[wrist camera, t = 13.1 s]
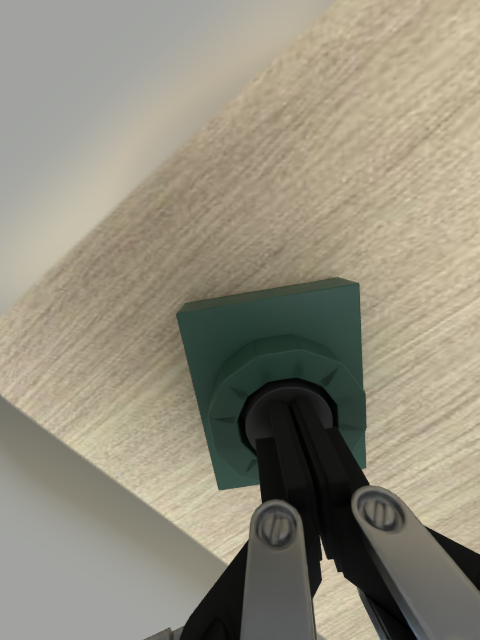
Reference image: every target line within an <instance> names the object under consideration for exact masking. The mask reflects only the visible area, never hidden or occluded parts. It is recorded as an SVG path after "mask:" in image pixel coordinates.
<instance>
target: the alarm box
mask: <svg viewBox="0 0 480 640" xmlns="http://www.w3.org/2000/svg"><path fill="white" fill-rule="evenodd" d="M176 316H177V320H178V324H179V328H180V332H181V336H182V340H183V345H184V349H185V353H186V357H187V361H188V365H189V369H190V374H191V378H192V382H193V386H194V390H195V394H196V398H197V403H198V407H199V411H200V415H201V419H202V423H203V427H204V432H205V436H206V440H207V444H208V448H209V452H210V456H211V461H212V465H213V469H214V473H215V477H216V481H217V485H218V489H219V490H225V489H232V488H239V487H245V486H252V485H259V484H260V481H259V471H258V462H257V453H256V450H255V449H254V447H253V446H252V445H251V443H250V442H249V440H248V438H247V434H246V429H245V414H244V404H245V401H246V399H247V397H248V396H249V395H251V394H252V393H253V392H255V391H256V390H258V389H259V388H260V387H262V386H263V385H264V384H266V383H267V382H270V381H277V380H283V379H289V378H295V377H297V378H300V379H303V380H306V381H309V382H312V383H315V384H316V385H317V387H318V389H319V390H320V392H321V394H322V395H323V397H324V399H325V400H326V402H327V404H328V406H329V408H330V410H331V413H332V418H333V424H332V427H336V428H338V430H339V431H340V433H341V435H342V437H343V438H344V440H345V442H346V444H347V445H348V447H349V449H350V451H351V452H352V454H353V456H354V458H355V459H356V461H357V463H358V465H359V466H360V468H361V469H365V468H366V449H365V431H366V428H367V426H366V398H365V391H364V390H363V369H362V342H361V316H360V289H359V283H356V282H352V281H349V280H346V279H342V278H333V279H327V280H321V281H315V282H309V283H303V284H297V285H291V286H285V287H279V288H273V289H267V290H261V291H255V292H249V293H243V294H237V295H231V296H225V297H220V298H214V299H208V300H202V301H196V302H190V303H185V304H184V306H183V307H182V308H181V309H180V310H179V311H178V313H177V314H176Z"/></svg>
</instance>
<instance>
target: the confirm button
mask: <svg viewBox="0 0 480 640" xmlns="http://www.w3.org/2000/svg"><path fill="white" fill-rule="evenodd" d="M301 397H309V398H310V401H311V403H312V405H313V407H314V409H315V411H316V413H317V415H318V417H319V419H320V421H321V423H322V425H323V427H324V429H326V428H332V424H333V418H332V413H331V410H330V408H329V406H328V404H327V402H326V400H325V399H324V397H323V395H322V394H321V392H320V390H319V389H318V387H317V385H316V384H315V383H312V382H309V381H306V380H303V379H300V378H297V377H295V378H289V379H283V380H277V381H270V382H267V383H266V384H264V385H263V386H262V387H260V388H259V389H258V390H256V391H255V392H253V393H252V394H251V395H249V396H248V397H247V399H246V401H245V404H244V414H245V429H246V434H247V438H248V440H249V442H250V443H251V445H252V446H253V447H254V449H255V450H256V443H255V439H260V438H267V437H273V432H272V426H271V419H270V413H269V406H268V403H269V402H276V401H281V402H282V404H287V406H288V409H289V412H290V415H291V417H292V412H291V403H293V402H295V398H301Z"/></svg>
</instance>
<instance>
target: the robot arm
mask: <svg viewBox="0 0 480 640" xmlns="http://www.w3.org/2000/svg"><path fill="white" fill-rule="evenodd" d="M268 406H269V413H270V419H271V426H272V432H273V437H267V438H260V439H255V443H256V453H257V462H258V471H259V481H260V490H261V499H262V504H261V505H260V506H259V507H258V508H257V509H256V510H255V512H254V513H253V515H252V518H251V522H250V530H249V540H248V541H247V542H246V544H245V545H244V546H243V548H242V549H241V550H240V551H239V553H238V554H237V555H236V557H235V558H234V559H233V561H232V562H231V563H230V565H229V566H228V567H227V569H226V570H225V571H224V573H223V574H222V575H221V577H220V578H219V579H218V580H217V582H216V583H215V584H214V586H213V587H212V588H211V589H210V591H209V592H208V593H207V595H206V596H205V597H204V599H203V600H202V601H201V603H200V604H199V605H198V607H197V608H196V609H195V611H194V612H193V613H192V615H191V616H190V617H189V619H188V621H187V622H186V624H185V626H183V627H181V628H179V629H177V630H174V631H171V628H168V629H165V630H163V631H161V632H159V633H157V634H155V635H152V636H151V637H148V638H146V639H144V640H317V633H316V624H315V615H314V605H313V597H314V595H315V593H316V591H317V589H318V587H319V585H320V583H321V581H322V577H321V568H320V561H322V552H321V543H320V537H321V540H322V544H323V547H324V551H325V554H326V557H327V559H328V560H330V559H334V562H335V565H336V568H337V571H338V572H343V575H344V577H345V578H346V579H347V580H349V581H350V582H351V583H353V584H354V585H355V586H357V590H358V593H359V596H360V598H361V600H362V602H363V604H364V607H365V609H366V611H367V613H368V615H369V617H370V619H371V621H372V623H373V625H374V627H375V629H376V631H377V634H378V636H379V638H380V640H480V554H478V553H476V552H474V551H472V550H470V549H468V548H466V547H464V546H462V545H460V544H459V543H457V542H455V541H453V540H451V539H449V538H447V537H445V536H443V535H441V534H439V533H437V532H435V531H434V530H432V529H430V528H428V527H426V526H424V525H423V524H422V523H421V522H420V520H419V519H418V518H417V517H416V516H415V515H414V513H413V512H412V511H411V510H410V509H409V507H408V506H407V505H406V504H405V503H404V502H403V501H402V500H401V499H400V498H399V497H398V496H397V495H396V494H394V493H393V492H391V491H389V490H388V489H385V488H382V487H379V486H372V485H370V484H369V482H368V480H367V479H366V477H365V475H364V473H363V472H362V470H361V468H360V466H359V465H358V463H357V461H356V459H355V458H354V456H353V454H352V452H351V451H350V449H349V447H348V445H347V444H346V442H345V440H344V438H343V437H342V435H341V433H340V431H339V430H338V428H336V427H332V428H326V429H324V427H323V425H322V423H321V421H320V419H319V417H318V415H317V413H316V411H315V409H314V407H313V405H312V403H311V401H310V398H309V397H301V398H295V402H293V403H291V412H292V417H291V415H290V412H289V409H288V406H287V404H282V402H281V401H276V402H269V403H268Z"/></svg>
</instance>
